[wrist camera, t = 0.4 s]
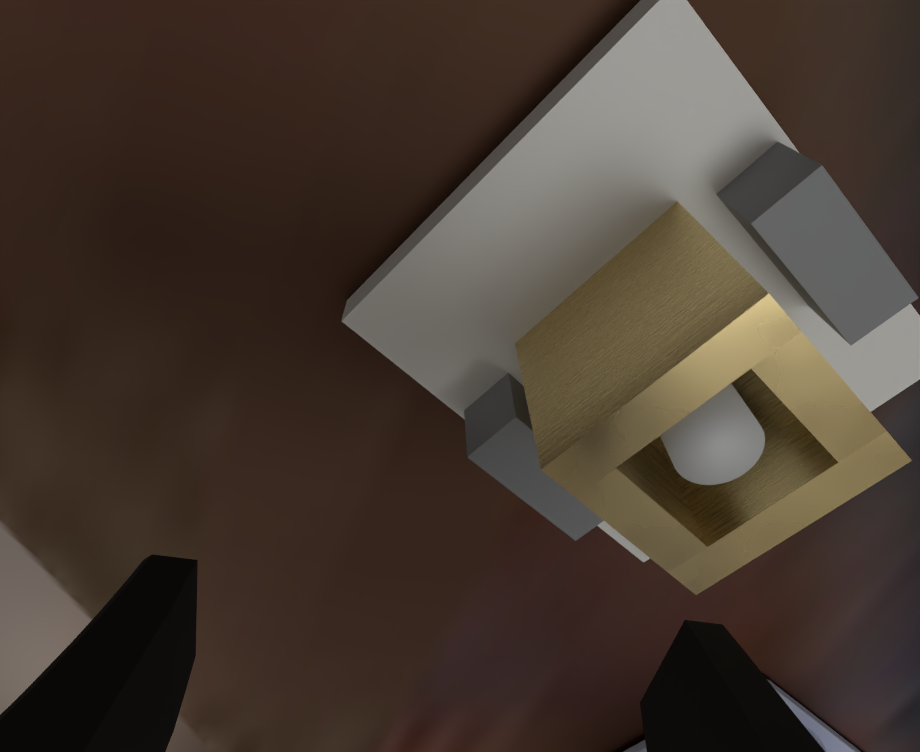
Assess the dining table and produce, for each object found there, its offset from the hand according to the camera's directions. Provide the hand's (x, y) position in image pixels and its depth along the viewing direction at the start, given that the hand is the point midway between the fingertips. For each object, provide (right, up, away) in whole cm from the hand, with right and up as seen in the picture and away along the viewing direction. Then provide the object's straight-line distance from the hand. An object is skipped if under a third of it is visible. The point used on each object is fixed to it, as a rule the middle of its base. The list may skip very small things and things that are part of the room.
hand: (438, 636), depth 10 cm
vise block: (+5, +5, +8) cm, 11 cm away
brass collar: (+5, +5, +7) cm, 10 cm away
